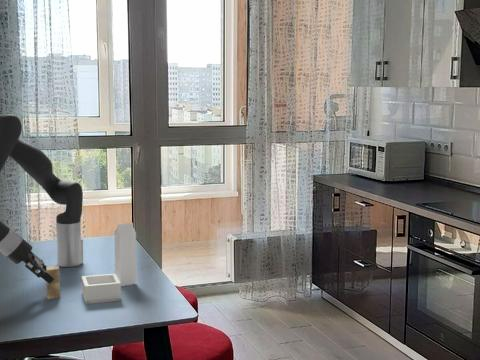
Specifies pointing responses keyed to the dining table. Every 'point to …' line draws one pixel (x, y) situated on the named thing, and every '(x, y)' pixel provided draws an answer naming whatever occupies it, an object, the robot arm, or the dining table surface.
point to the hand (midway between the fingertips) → (51, 277)
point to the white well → (101, 288)
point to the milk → (125, 254)
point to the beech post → (53, 282)
